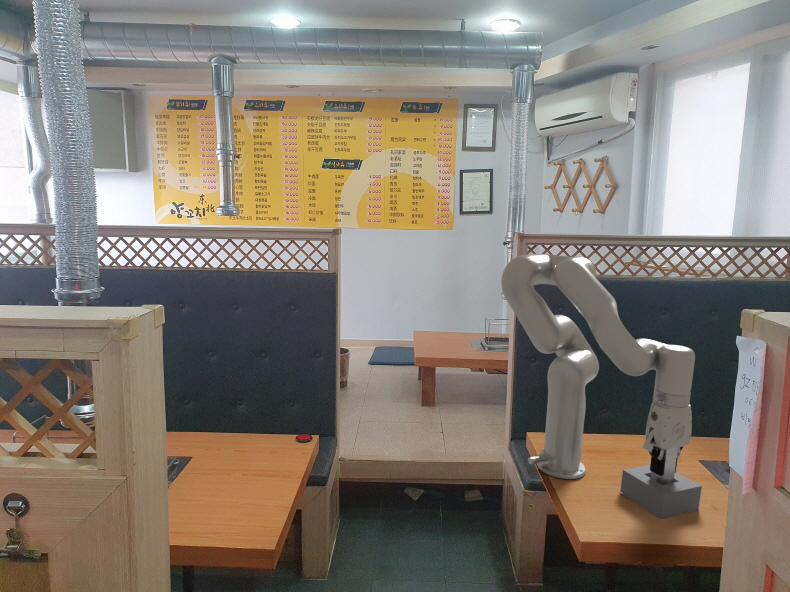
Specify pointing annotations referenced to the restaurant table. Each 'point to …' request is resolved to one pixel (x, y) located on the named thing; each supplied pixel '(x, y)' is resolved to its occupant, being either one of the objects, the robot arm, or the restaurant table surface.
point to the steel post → (667, 467)
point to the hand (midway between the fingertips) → (662, 471)
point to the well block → (660, 492)
